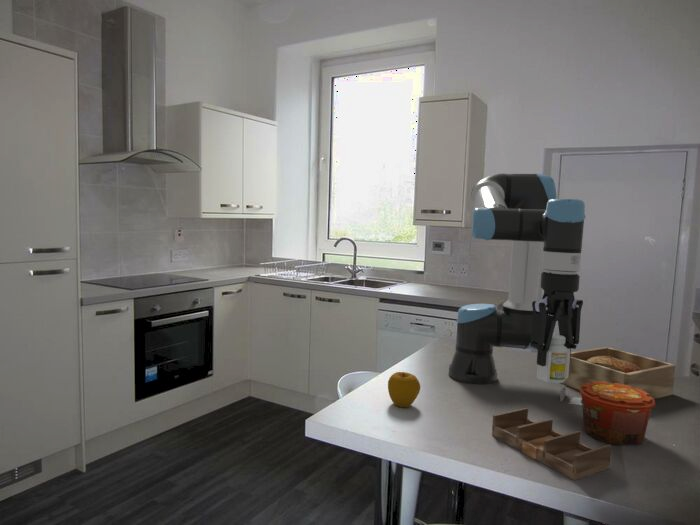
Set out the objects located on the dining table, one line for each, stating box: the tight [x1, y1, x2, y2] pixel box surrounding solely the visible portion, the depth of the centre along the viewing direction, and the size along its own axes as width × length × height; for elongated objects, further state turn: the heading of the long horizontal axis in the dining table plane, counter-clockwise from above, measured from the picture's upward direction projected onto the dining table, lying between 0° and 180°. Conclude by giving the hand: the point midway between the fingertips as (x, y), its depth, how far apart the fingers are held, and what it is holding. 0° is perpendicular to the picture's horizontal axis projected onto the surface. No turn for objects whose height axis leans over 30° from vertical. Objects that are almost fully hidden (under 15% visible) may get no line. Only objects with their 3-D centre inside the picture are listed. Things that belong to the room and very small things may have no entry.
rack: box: [491, 407, 612, 481], centre depth 108 cm, size 22×11×5 cm, turn 29°
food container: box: [578, 381, 656, 447], centre depth 118 cm, size 16×16×11 cm
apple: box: [387, 371, 421, 408], centre depth 132 cm, size 9×8×9 cm
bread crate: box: [560, 346, 676, 400], centre depth 152 cm, size 22×24×9 cm
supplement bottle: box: [548, 333, 568, 384], centre depth 106 cm, size 5×5×10 cm
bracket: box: [559, 384, 582, 407], centre depth 139 cm, size 7×10×4 cm, turn 57°
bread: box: [587, 356, 642, 373], centre depth 152 cm, size 20×18×10 cm
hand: (552, 378), depth 107 cm, fingers closed on supplement bottle, 5 cm apart
